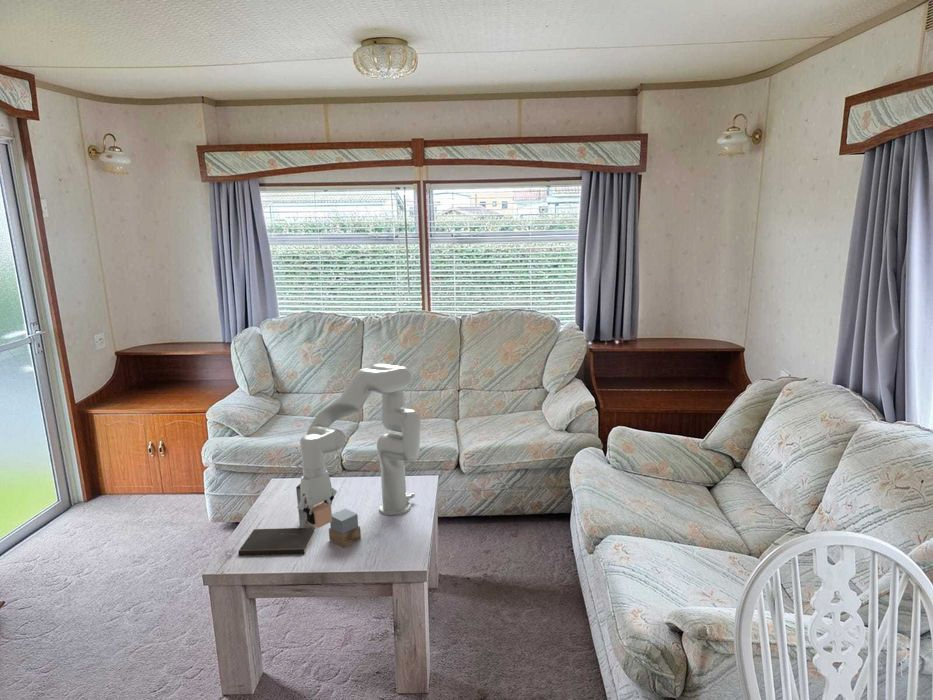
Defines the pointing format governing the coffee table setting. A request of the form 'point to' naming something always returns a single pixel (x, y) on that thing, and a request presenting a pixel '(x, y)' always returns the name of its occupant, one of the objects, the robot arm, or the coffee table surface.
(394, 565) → the coffee table surface
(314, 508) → the terracotta cube
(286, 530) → the hardcover book
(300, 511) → the coffee box
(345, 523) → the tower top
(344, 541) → the tower bottom
